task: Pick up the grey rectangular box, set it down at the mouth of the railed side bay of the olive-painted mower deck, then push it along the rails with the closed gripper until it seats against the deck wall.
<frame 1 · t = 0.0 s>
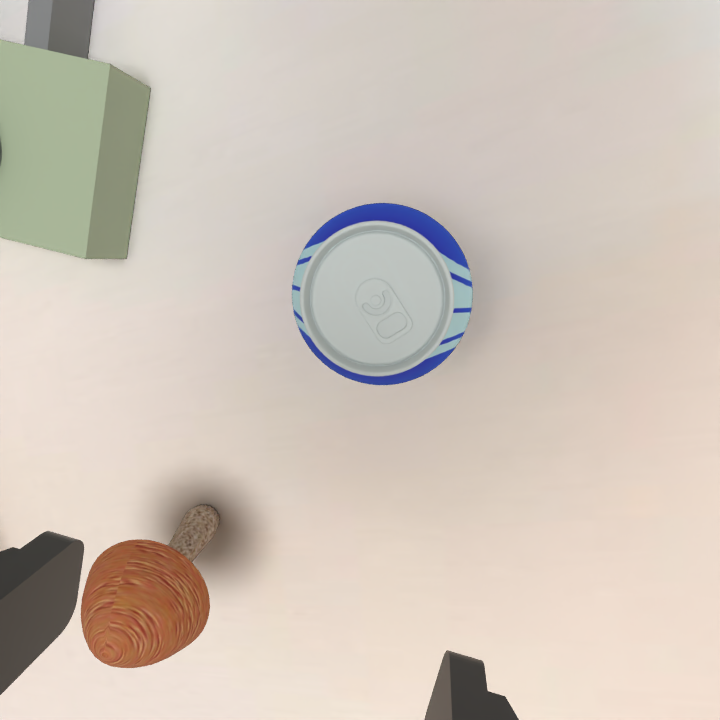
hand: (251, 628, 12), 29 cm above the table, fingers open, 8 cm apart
deck: (10, 145, 41), on the table
mushroom: (210, 522, 45), on the table
beer can: (398, 282, 39), on the table
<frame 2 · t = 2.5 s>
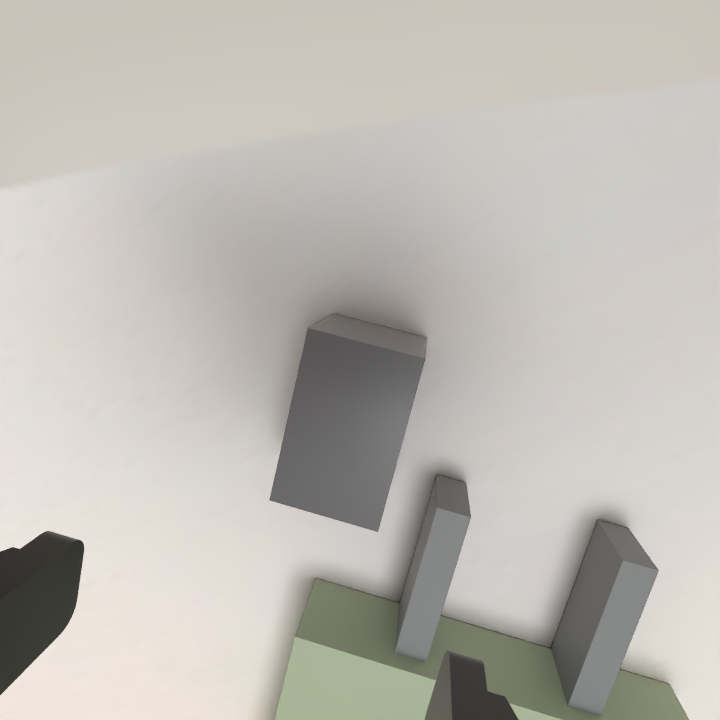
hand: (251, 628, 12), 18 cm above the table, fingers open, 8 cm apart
deck: (459, 717, 32), on the table
grey rectangular box: (361, 397, 30), on the table
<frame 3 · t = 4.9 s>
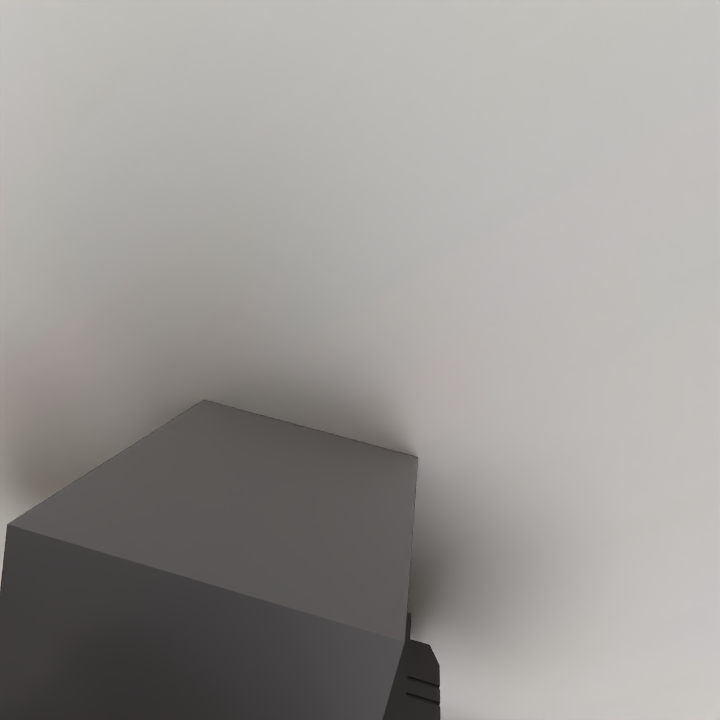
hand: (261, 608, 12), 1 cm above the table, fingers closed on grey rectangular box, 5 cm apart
grey rectangular box: (274, 583, 13), on the table, touching gripper
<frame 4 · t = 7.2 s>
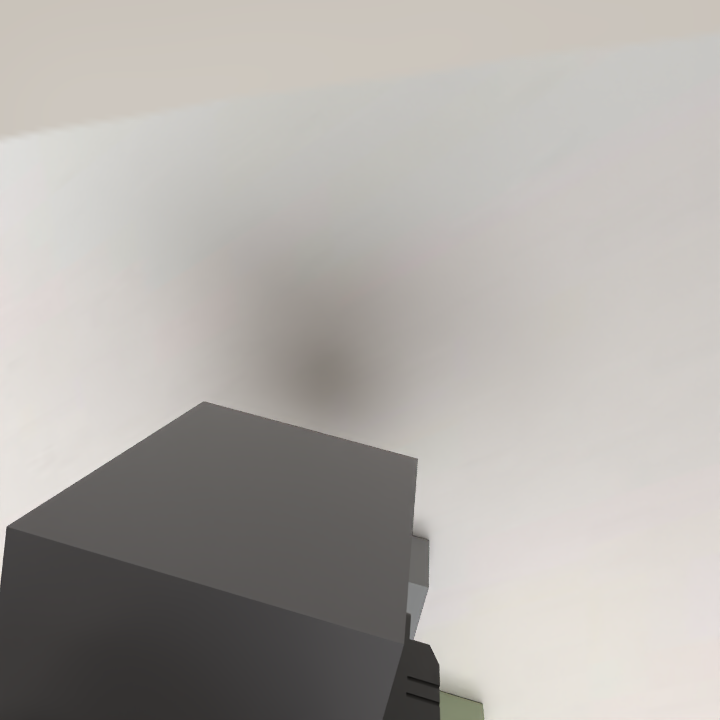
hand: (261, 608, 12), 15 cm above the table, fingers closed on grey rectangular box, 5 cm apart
grey rectangular box: (274, 584, 13), point 14 cm above the table, touching gripper
when the fingers open (2 cm above the table, at t = 9.8 s): grey rectangular box drops 1 cm, on the table.
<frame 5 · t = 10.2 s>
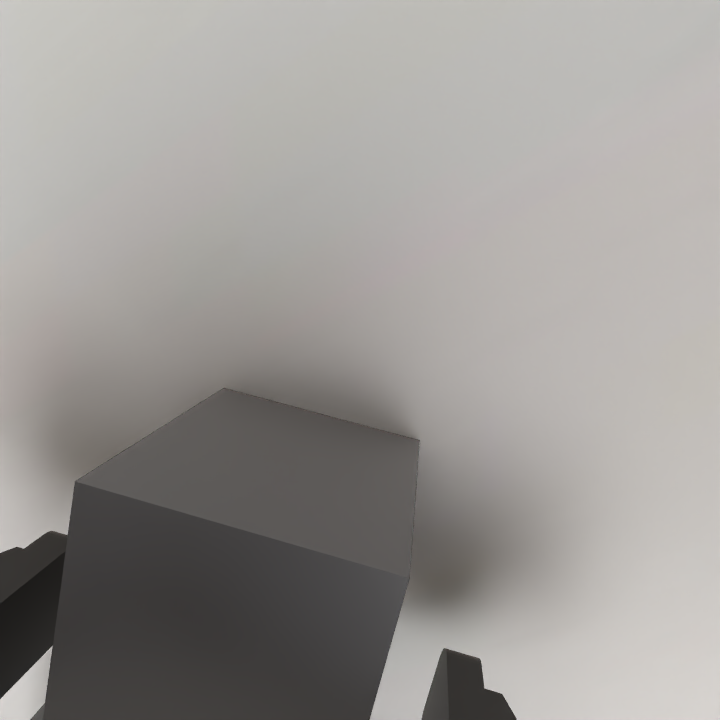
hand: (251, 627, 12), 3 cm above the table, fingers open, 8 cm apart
grey rectangular box: (288, 555, 15), on the table
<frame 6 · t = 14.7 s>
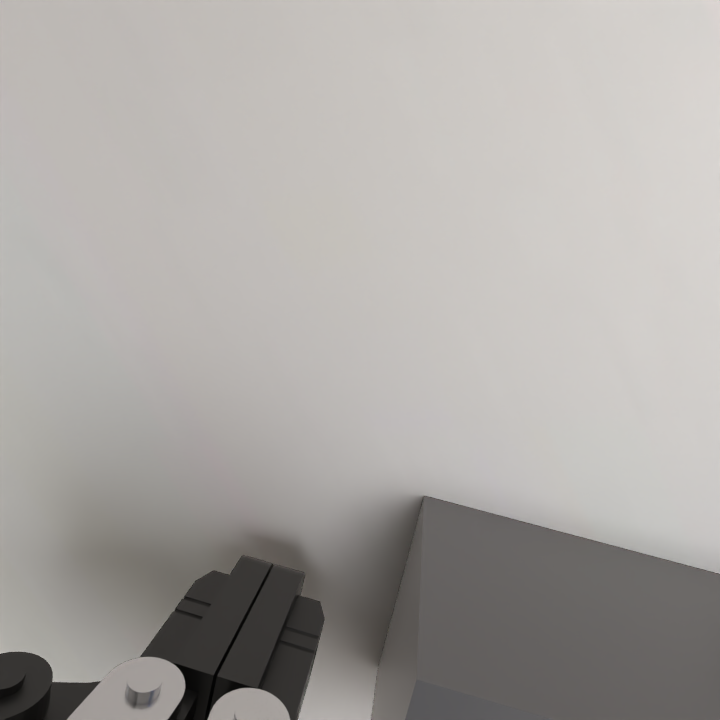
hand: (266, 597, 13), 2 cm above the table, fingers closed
grey rectangular box: (558, 629, 14), on the table, touching gripper
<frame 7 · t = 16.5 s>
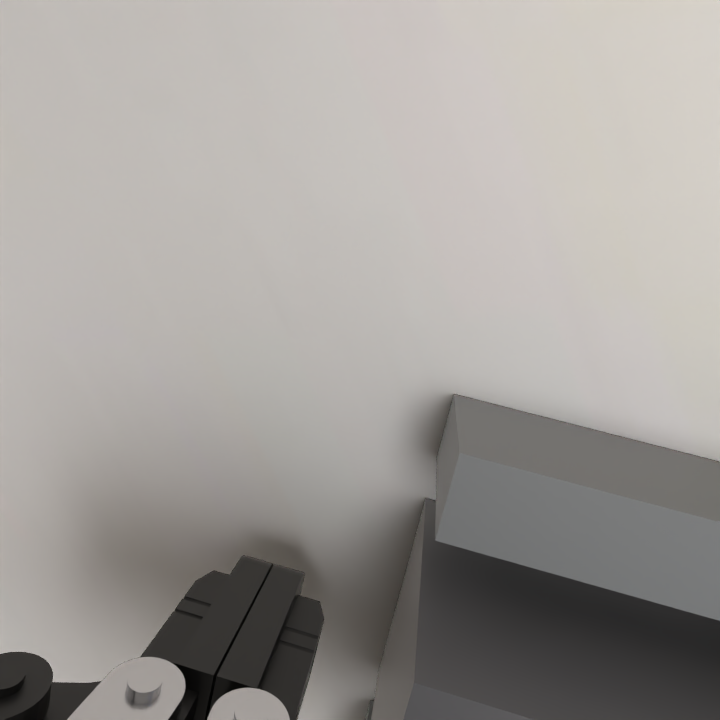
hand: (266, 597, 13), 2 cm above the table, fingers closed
grey rectangular box: (560, 634, 14), on the table, touching deck, gripper
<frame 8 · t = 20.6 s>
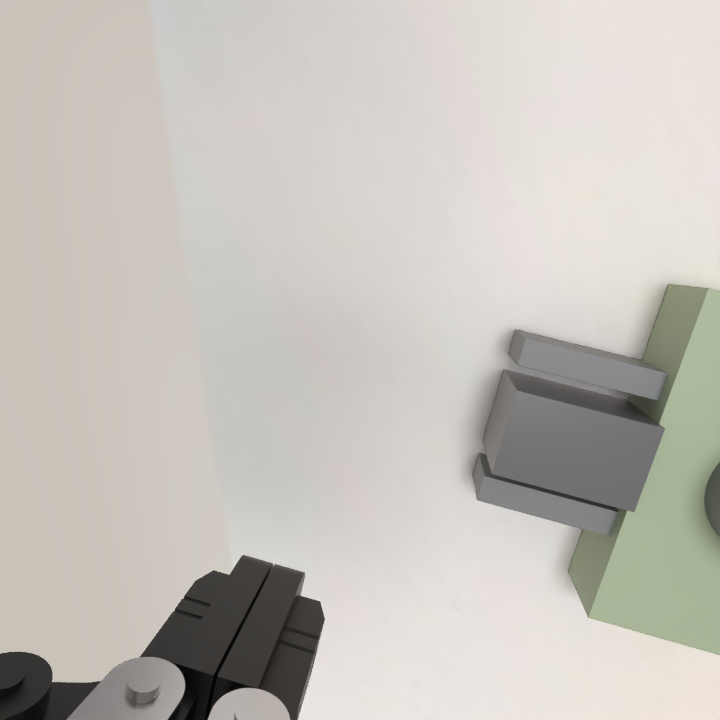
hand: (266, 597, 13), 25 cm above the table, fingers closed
deck: (710, 460, 35), on the table
grey rectangular box: (553, 420, 36), on the table
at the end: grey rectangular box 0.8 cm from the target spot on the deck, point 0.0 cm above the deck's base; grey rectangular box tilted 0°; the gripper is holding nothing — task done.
